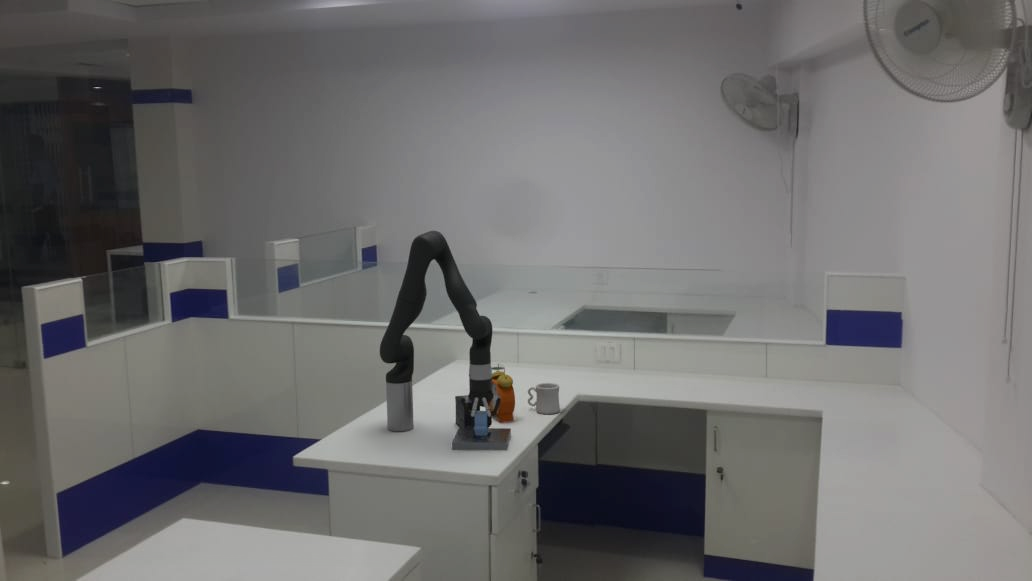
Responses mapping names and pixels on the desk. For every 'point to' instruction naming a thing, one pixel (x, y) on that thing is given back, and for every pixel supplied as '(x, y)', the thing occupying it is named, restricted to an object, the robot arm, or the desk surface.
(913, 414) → the desk surface
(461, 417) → the small box
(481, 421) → the block
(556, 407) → the mug
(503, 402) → the alarm clock
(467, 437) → the plate
